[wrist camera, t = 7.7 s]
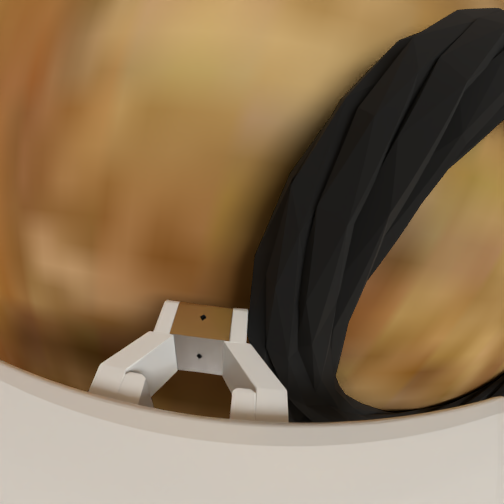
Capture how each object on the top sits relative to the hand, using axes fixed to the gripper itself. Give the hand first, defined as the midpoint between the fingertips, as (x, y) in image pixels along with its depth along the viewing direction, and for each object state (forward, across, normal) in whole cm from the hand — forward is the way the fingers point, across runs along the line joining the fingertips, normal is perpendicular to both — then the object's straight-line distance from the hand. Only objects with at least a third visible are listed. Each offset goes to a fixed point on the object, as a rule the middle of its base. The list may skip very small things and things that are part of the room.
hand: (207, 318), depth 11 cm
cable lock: (+2, +15, 0) cm, 15 cm away
